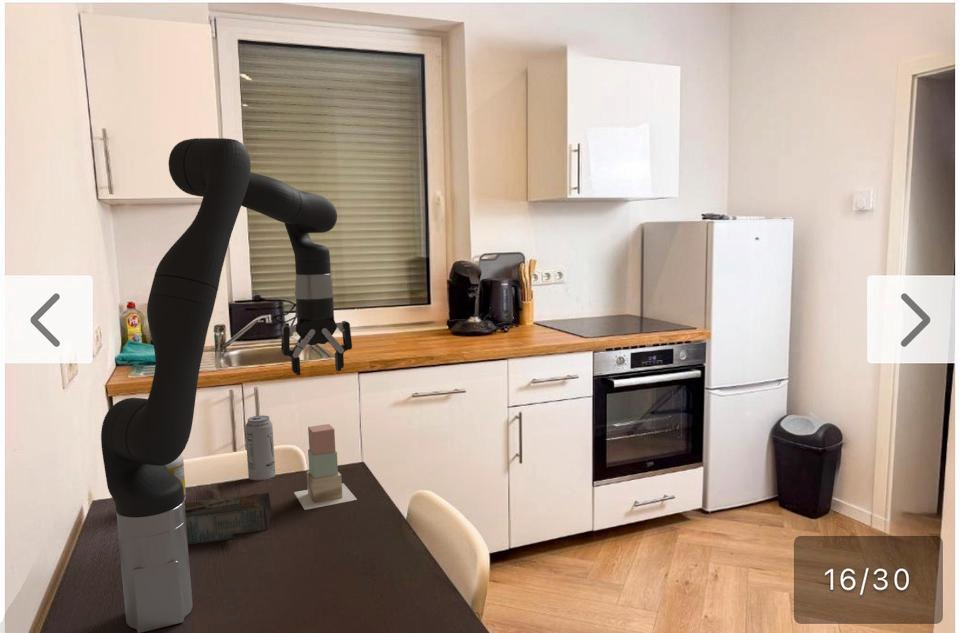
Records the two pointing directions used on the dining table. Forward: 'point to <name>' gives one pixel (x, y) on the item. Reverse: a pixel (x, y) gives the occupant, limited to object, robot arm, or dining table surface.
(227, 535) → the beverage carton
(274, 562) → the dining table surface
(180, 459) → the supplement bottle
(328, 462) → the sage block
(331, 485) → the maple block
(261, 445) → the energy drink can
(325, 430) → the coral block
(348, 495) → the pad
